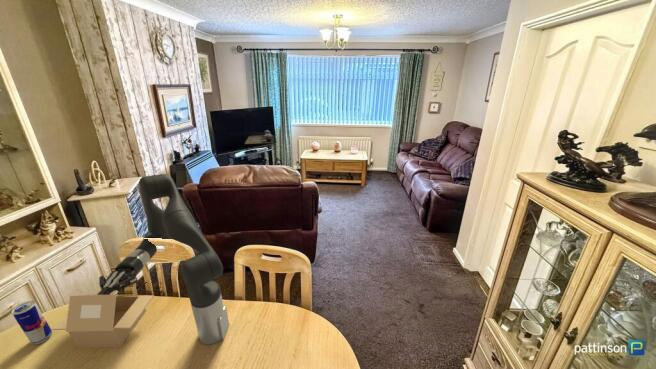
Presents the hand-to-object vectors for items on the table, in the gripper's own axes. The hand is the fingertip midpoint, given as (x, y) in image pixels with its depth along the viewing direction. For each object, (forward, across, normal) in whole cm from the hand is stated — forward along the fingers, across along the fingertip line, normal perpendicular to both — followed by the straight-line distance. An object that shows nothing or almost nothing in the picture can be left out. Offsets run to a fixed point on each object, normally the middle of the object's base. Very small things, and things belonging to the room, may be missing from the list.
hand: (99, 298), depth 84 cm
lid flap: (+4, 0, +2) cm, 4 cm away
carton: (-1, 0, +15) cm, 15 cm away
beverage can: (+3, -21, +15) cm, 26 cm away
